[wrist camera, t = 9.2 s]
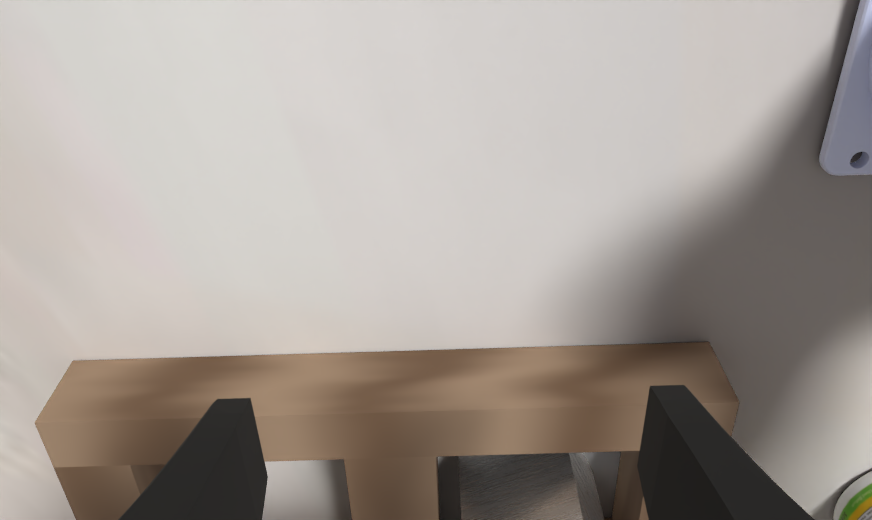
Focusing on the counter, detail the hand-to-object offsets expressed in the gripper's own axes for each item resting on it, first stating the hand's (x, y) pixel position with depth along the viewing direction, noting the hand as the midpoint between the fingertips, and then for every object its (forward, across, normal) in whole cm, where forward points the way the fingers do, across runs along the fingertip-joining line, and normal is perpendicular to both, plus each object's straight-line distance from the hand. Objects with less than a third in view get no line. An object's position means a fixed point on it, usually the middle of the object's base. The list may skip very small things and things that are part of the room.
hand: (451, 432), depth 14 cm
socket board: (+10, +2, +12) cm, 16 cm away
